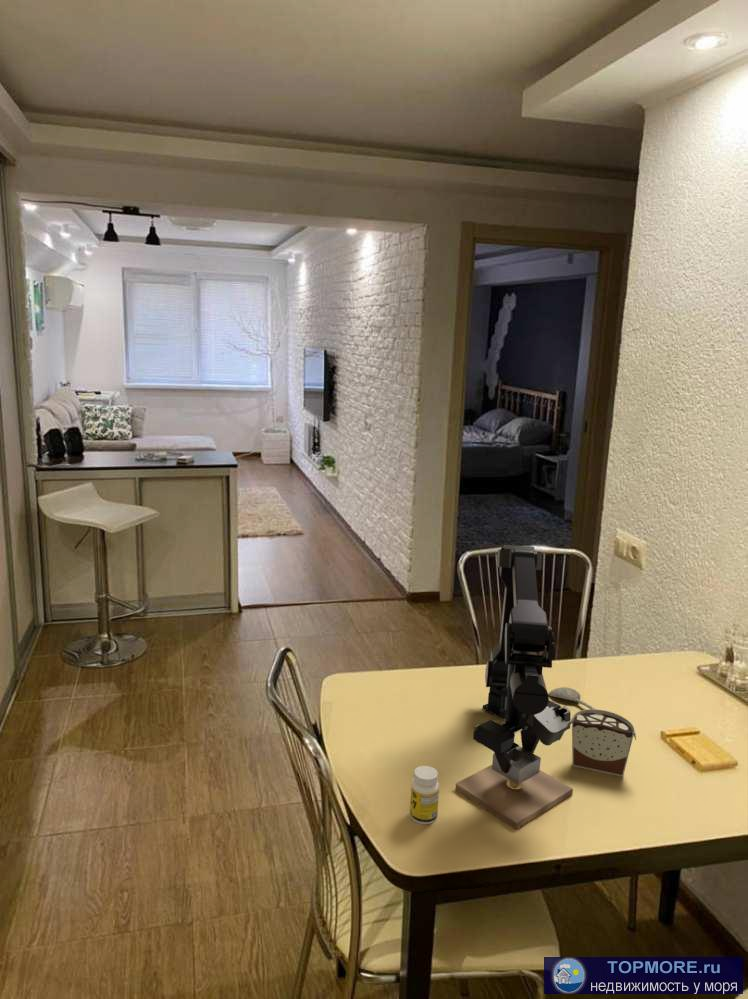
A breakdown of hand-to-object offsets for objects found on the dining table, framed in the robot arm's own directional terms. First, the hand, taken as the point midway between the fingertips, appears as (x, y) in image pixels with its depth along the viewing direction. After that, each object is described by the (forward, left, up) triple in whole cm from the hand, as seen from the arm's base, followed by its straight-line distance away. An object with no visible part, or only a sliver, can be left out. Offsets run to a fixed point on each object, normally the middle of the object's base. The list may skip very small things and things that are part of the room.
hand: (515, 766), depth 131 cm
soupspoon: (-37, -9, -6) cm, 39 cm away
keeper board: (0, 0, -5) cm, 5 cm away
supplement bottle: (+18, -5, -5) cm, 20 cm away
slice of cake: (-21, +4, -5) cm, 22 cm away
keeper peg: (0, 0, -4) cm, 4 cm away
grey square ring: (0, 0, -1) cm, 1 cm away
